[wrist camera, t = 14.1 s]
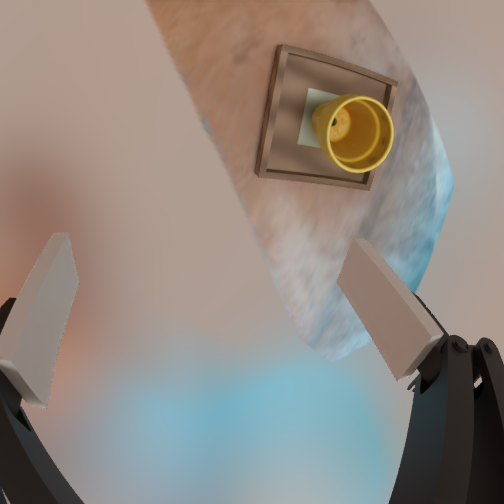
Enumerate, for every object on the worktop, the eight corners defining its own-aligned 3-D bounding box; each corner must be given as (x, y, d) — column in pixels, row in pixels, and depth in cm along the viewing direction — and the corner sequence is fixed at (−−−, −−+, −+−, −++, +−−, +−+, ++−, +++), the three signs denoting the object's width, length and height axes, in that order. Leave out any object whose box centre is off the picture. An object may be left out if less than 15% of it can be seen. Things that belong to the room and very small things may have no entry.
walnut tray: (277, 45, 33) (282, 44, 31) (389, 80, 38) (398, 81, 37) (254, 172, 44) (258, 177, 42) (362, 185, 49) (369, 190, 47)
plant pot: (284, 115, 39) (311, 127, 31) (336, 76, 37) (373, 81, 29) (322, 165, 45) (351, 188, 37) (368, 128, 42) (405, 144, 34)
